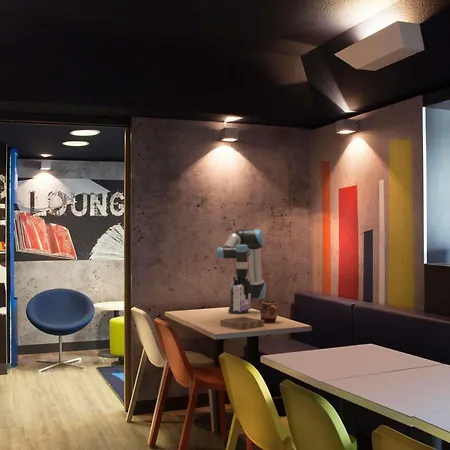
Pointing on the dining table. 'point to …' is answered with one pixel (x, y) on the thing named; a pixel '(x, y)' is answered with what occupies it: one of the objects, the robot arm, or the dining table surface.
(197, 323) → the dining table surface
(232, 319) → the walnut plinth
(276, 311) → the decorative planter
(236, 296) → the candy box
